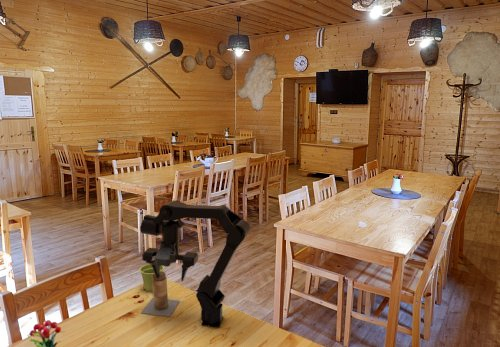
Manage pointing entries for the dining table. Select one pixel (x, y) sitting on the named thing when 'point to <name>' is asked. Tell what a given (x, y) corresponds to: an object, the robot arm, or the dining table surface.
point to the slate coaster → (166, 312)
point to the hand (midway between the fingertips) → (170, 279)
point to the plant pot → (148, 276)
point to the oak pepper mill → (160, 291)
